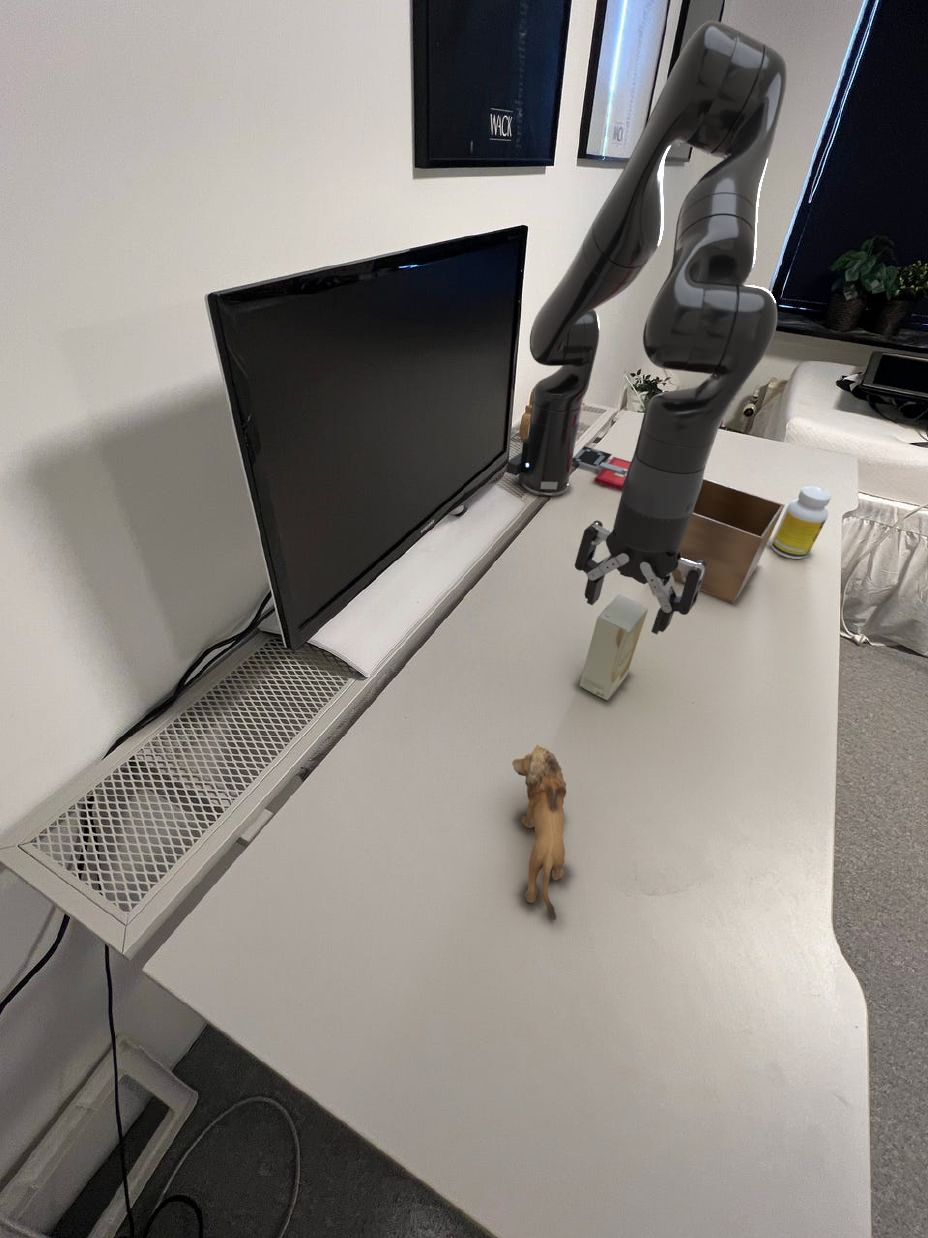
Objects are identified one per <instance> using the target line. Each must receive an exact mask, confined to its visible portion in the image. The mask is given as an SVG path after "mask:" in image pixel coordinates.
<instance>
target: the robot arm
mask: <svg viewBox="0 0 928 1238" xmlns="http://www.w3.org/2000/svg"><path fill="white" fill-rule="evenodd" d="M787 71H788V69H787V64H786V60H785V58H784V57H783V55H782V54H780V52H778V51H777V50H776V49H775V48H773V47H771V46H769V44H766V43H764V42H762V41H759V40H758V39H756V38H754V37H752V36H750V35H749V34H747V33H745V32H742V31H740V30H739V29H735V28H734V27H732V26H730V25H728V24H726V23H723V22H720V21H718V20H708V21H705V22H704V23H703V24H701V25H700V26H699V27H698V28H697V29H696V30H695V32H693V34H692V35H691V36H690V38H689V39H688V41H687V42H686V44H685V45H684V47H683V49H682V50H681V53H680V55H679V56H678V58H677V60H676V61H675V64H674V66H673V68H672V69H671V72H670V74H669V76H668V78H667V79H666V81H665V84H664V86H663V88H662V90H661V92H660V94H659V97H658V99H657V101H656V103H655V104H654V107H653V109H652V111H651V113H650V115H649V117H648V120H647V122H646V124H645V126H644V128H643V130H642V132H641V134H640V137H639V139H638V141H637V142H636V145H635V146H634V149H633V150H632V153H631V154H630V157H629V159H628V160H627V162H626V164H625V166H624V168H623V170H622V171H621V173H620V175H619V177H618V179H617V180H616V182H615V184H614V186H613V187H612V189H611V191H610V192H609V194H608V196H607V198H606V200H605V201H604V203H603V205H601V208H600V210H599V211H598V213H597V214H596V216H595V218H594V220H593V221H592V224H591V225H590V227H589V229H588V230H587V233H586V234H585V237H584V238H583V240H582V242H581V244H580V246H579V248H578V251H577V252H576V254H575V256H574V258H573V260H572V261H571V263H570V264H569V267H568V268H567V270H566V271H565V273H564V275H563V276H562V278H561V279H560V281H559V283H557V285H556V287H555V288H554V289H553V291H552V292H551V293H550V295H549V297H548V298H547V299H546V301H545V302H544V304H543V305H542V306H541V307H540V309H539V310H538V312H537V314H536V316H535V318H534V320H533V323H532V326H531V329H530V333H529V351H530V355H531V356H532V358H533V360H534V361H535V362H536V363H537V364H539V365H541V366H547V367H559V369H558V370H556V371H555V372H553V373H552V374H551V375H549V376H547V377H545V378H542V379H541V380H539V381H538V382H537V383H536V384H535V386H534V388H533V392H532V401H531V402H532V403H531V408H530V417H529V426H528V434H527V437H525V438H524V439H522V448H521V452H520V453H517V454H516V455H515V456H513V457H512V458H510V459H509V460H507V461H508V465H507V469H506V468H505V472H506V473H508V474H510V475H513V476H518V480H517V484H518V485H520V486H522V488H523V489H524V490H525V491H527V492H528V493H530V494H532V495H536V496H538V497H539V496H540V497H550V498H551V497H557V496H558V497H559V496H561V495H563V494H565V493H566V492H567V491H568V489H569V482H570V475H571V470H572V465H573V461H572V459H573V457H574V454H575V447H576V442H577V435H578V432H579V431H578V430H579V424H580V420H581V414H582V408H583V405H584V398H585V396H586V395H587V392H588V389H589V386H590V382H591V381H590V380H591V378H592V377H591V376H592V374H593V373H592V372H593V368H594V365H595V364H594V363H595V360H596V356H597V351H598V346H599V340H600V329H601V328H600V327H601V326H600V319H599V316H598V313H597V311H596V310H595V309H597V308H599V307H601V306H602V305H603V304H606V303H607V302H609V301H610V300H612V299H614V298H615V297H617V296H619V294H621V293H622V292H624V291H625V290H626V289H627V288H629V287H630V286H631V285H632V284H633V282H634V281H636V279H637V278H638V277H639V275H640V274H641V273H642V271H643V270H644V268H645V267H646V266H647V264H648V263H649V261H650V260H651V259H652V257H653V256H654V255H655V253H656V252H657V249H658V247H659V245H660V243H661V240H662V236H663V231H664V220H665V219H664V218H665V217H664V216H665V210H664V209H665V208H664V207H665V206H664V204H665V203H664V170H665V160H666V156H667V153H668V151H669V150H670V148H671V146H672V145H673V144H674V143H676V142H680V143H683V144H685V145H687V146H690V147H691V148H694V149H695V150H698V151H700V152H702V153H704V154H707V155H708V156H711V157H713V158H718V159H722V160H721V161H720V162H719V163H717V164H715V165H714V166H713V167H711V168H710V169H709V170H708V171H706V172H705V173H704V174H703V175H702V176H701V177H699V179H698V180H697V181H696V182H695V183H694V184H693V186H692V187H691V188H690V190H689V191H688V193H687V194H686V196H685V198H684V199H683V202H682V204H681V207H680V210H679V213H678V216H677V220H676V227H675V237H674V246H673V254H672V261H671V266H670V269H669V272H668V274H667V277H666V279H665V280H664V282H663V283H662V286H661V288H660V289H659V291H658V292H657V295H656V297H655V299H654V301H653V302H652V304H651V307H650V309H649V312H648V314H647V316H646V320H645V323H644V327H643V333H642V345H643V350H644V351H645V352H644V353H645V355H646V356H647V358H648V360H649V361H650V362H651V363H652V364H653V365H654V366H655V367H658V368H660V369H663V370H669V371H678V372H689V373H696V374H705V375H708V376H707V377H706V378H705V379H704V380H703V381H702V382H701V383H698V385H696V386H693V387H689V388H684V389H677V390H668V391H663V392H660V393H658V394H655V395H654V396H653V397H651V398H650V399H649V401H648V402H647V404H646V407H645V410H644V412H643V416H642V420H641V425H640V430H639V434H638V437H637V442H636V446H635V450H634V451H633V455H632V458H631V461H630V462H631V463H630V465H629V468H628V471H627V474H626V478H625V480H624V482H623V486H622V490H621V495H620V499H619V502H618V508H617V511H616V515H615V519H614V523H613V527H612V530H610V529H607V528H606V527H603V523H602V521H600V520H596V519H595V521H593V522H592V523H591V524H589V525H588V527H586V528H585V529H584V531H583V535H582V537H581V541H580V545H579V548H578V551H577V555H576V558H575V563H574V567H575V569H576V570H577V571H579V572H580V571H582V572H584V573H585V574H586V577H587V581H586V584H585V585H586V586H585V591H584V598H585V599H587V600H586V604H588V605H590V606H593V605H594V604H596V602H597V601H598V600H600V599H599V598H600V596H601V592H602V589H603V585H604V580H605V576H606V575H608V574H609V573H611V572H612V571H614V570H617V571H618V572H619V575H620V576H623V577H625V578H626V577H627V578H632V579H634V580H635V581H636V582H638V583H640V584H642V585H646V584H648V586H649V589H650V591H651V594H652V596H654V597H656V599H657V602H658V604H659V606H660V607H659V608H658V610H657V613H656V617H655V619H654V622H653V625H652V628H651V631H650V632H651V633H652V634H655V635H658V634H659V633H664V632H665V631H666V630H667V628H668V627H669V626H670V625H671V622H672V619H673V616H674V613H676V612H678V613H679V614H680V615H682V616H686V615H688V614H689V612H690V611H691V610H692V609H693V608H694V606H695V604H696V603H697V600H698V597H699V594H700V591H701V590H700V587H701V584H702V581H703V577H704V574H705V571H706V567H707V563H706V562H705V561H704V560H698V561H697V562H696V563H694V562H691V561H688V560H685V559H682V558H681V554H680V549H681V545H682V542H683V540H684V537H685V534H686V531H687V528H688V525H689V522H690V519H691V516H692V513H693V510H694V507H695V504H696V502H697V499H698V496H699V493H700V490H701V486H702V482H703V478H704V475H705V470H706V467H707V464H708V460H709V458H710V456H711V452H712V449H713V447H714V443H715V441H716V437H717V434H718V431H719V429H720V427H721V425H722V422H723V421H724V418H725V417H726V416H727V414H728V411H729V410H730V409H731V406H732V405H733V403H734V402H735V400H736V398H737V397H738V395H739V394H740V392H741V391H742V389H743V387H744V386H745V384H746V382H747V381H748V380H749V379H750V377H751V376H752V375H753V373H754V371H755V370H756V369H757V367H758V366H759V364H760V363H761V362H762V360H763V359H764V356H765V355H766V354H767V352H768V350H769V347H770V345H771V343H772V341H773V339H774V337H775V334H776V330H777V326H778V317H779V316H778V307H777V302H776V300H775V298H774V296H773V294H772V293H771V291H769V290H768V289H766V288H764V287H759V286H755V285H745V283H746V282H747V281H748V280H749V277H750V275H751V274H752V271H753V268H754V264H755V260H756V250H757V249H756V248H757V223H758V209H759V208H758V207H759V198H760V191H761V187H762V182H763V178H764V175H765V171H766V168H767V164H768V160H769V158H770V154H771V150H772V147H773V143H774V139H775V135H776V130H777V127H778V123H779V118H780V115H781V111H782V107H783V103H784V98H785V94H786V88H787V80H788V79H787V78H788V72H787ZM602 542H605V544H606V547H607V550H608V552H609V555H608V556H607V557H605V558H604V559H602V560H600V561H598V562H597V561H596V560H595V559H594V556H595V553H596V550H597V547H598V546H600V545H601V543H602ZM676 569H678V570H679V571H680V572H681V578H682V581H683V582H685V584H684V586H683V590H682V593H681V595H679V594H678V593H679V592H678V591H677V589H676V586H675V580H674V578H673V575H672V573H671V572H673V571H674V570H676Z"/></svg>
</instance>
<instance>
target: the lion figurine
mask: <svg viewBox="0 0 928 1238" xmlns="http://www.w3.org/2000/svg"><path fill="white" fill-rule="evenodd" d="M511 765H512V767H513V770H514V772H515V773H517V775H518V776H522V777H525V780H524V781H525V782H524V784H525V786H526V793H527V799H528V803H527V806H526V816H523V817H522V819H521V824H522V825H523V826H524V827H526V828H527V829H530V828H531V829H532V828H533V827H534V834H535V838H536V841H535V842H534V844H533V847H532V849H531V851H530V857H529V860H528V868H527V869H528V870H527V871H528V872H527V873H528V887H527V890H526V891H525V892H524V899H525V902H527V903H531V904H532V903H535V902H536V900H537V893H538V888H537V878H538V875H539V872H540V871H541V870H542V871H543V872H542V879H541V896H542V899H543V902H544V904H545V907H546V910H547V915H548V916H549V918H550V919H551V920H553V921H556V920H557V914H556V911H555V906H554V905H553V904H552V902H551V900H550V898H549V893H548V892H549V891H548V890H549V889H548V888H549V882H550V876H551V877H552V880H554V881H558V880H561V879H562V878H563V876H564V874H565V871H564V869H563V866H564V864H565V858H566V848H565V840H564V836H563V833H564V824H565V812H564V807H563V805H564V801H565V800H564V799H565V797H566V794H567V787H566V786H567V783H566V782H565V780H564V776H563V775H564V774H563V772H562V767H561V766H560V765H559V761H558V760H557V758H556V756H555V754H554V753H553V752H550V751H549V750H548V749H547V748H545V747H542V746H540V745H539V744H536V745H535V747H534V749H533V750H532V751H531V753H528V754H526V755H525V756H524V757H523V758H515V759H513V760H512V763H511ZM542 868H543V869H542Z"/></svg>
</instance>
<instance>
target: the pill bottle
mask: <svg viewBox="0 0 928 1238" xmlns="http://www.w3.org/2000/svg"><path fill="white" fill-rule="evenodd" d="M831 499H832V495H831V494H830V492H829V491H827V490H825V489H823V488H821V487H817V486H807V485H806V486H804V487H802V488H801V490H800V492H799V493H798V499H793V500H792V501H790V502H789V503H788V505H787V506H786V508H785V511H784V513H783V515H782V517H781V519H780V522H779V524H778V526H777V529H776V531H775V533H774V535H773V537H772V540H771V541H770V545H771V549H772V550H773V551H774V552H776V553H777V554H778V555H780V556H782V557H785V558H788V559H793V560H801V559H804V558H807V556H808V555H809V554H810V552H811V550H812V548H813V546H814V545H815V543H816V540H817V538H818V536H819V535H820V533H821V531H822V529H823V527H824V525H825V524H826V522H827V520H828V518H829V511H828V509H827V507H826V506H828V504H829V503H830V501H831Z"/></svg>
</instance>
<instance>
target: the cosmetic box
mask: <svg viewBox="0 0 928 1238" xmlns="http://www.w3.org/2000/svg"><path fill="white" fill-rule="evenodd" d="M648 611H649V607H648V606H646V605H643V604H641V603H639V602H637V601H635V600H632V599H631V598H628V597H626V596H624V595H622V594H618V595H616V597H614V599H613V600H612V601H611V602H610V603H609V604H607V606H606V607H605V608H604V609H603V610H602V611H601V613H600V614H599V615H597V618H596V621H595V625H594V629H593V633H592V637H591V640H590V644H589V648H588V652H587V656H586V659H585V663H584V666H583V671H582V674H581V678H580V681H579V687H581V688H582V689H584V690H586V691H587V692H589V693H591V694H593V695H595V696H597V697H599V698H601V699H602V700H605V701H608V700H610V698H611V697H612V696H613V695H614V693H616V691H617V690H618V688H619V687H620V686H621V685H622V683H623V682H624V680H625V678H626V677H627V675H628V672H629V669H630V666H631V663H632V660H633V657H634V654H635V651H636V648H637V644H638V642H639V640H640V639H639V638H640V635H641V632H642V631H643V630H642V629H643V627H644V623H645V621H646V618H647V615H648Z"/></svg>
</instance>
